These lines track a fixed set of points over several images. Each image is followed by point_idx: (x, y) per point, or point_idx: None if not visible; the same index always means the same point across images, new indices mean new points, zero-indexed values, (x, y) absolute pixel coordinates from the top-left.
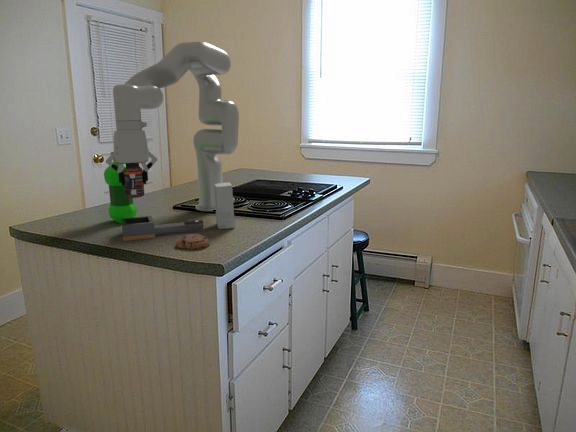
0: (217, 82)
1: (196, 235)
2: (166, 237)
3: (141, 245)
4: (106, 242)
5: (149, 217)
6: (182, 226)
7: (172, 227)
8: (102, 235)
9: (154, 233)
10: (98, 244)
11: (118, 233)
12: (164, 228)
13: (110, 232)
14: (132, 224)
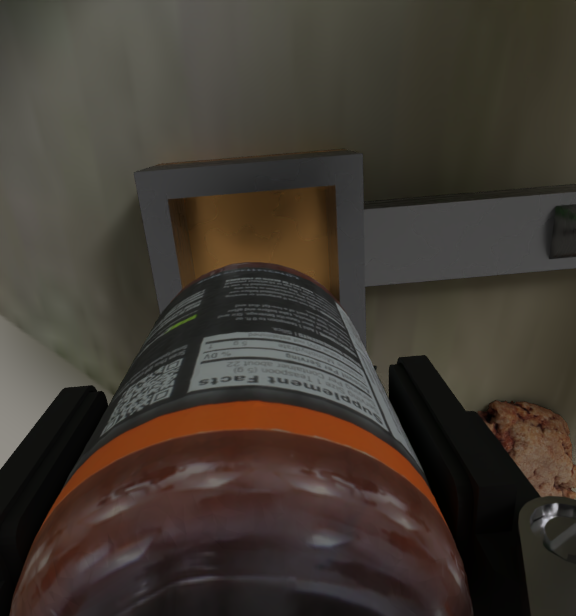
0: None
1: (544, 464)
2: (406, 327)
3: None
4: (101, 333)
5: (346, 210)
6: (525, 269)
7: (465, 274)
8: (41, 186)
9: None
10: (67, 356)
11: (134, 167)
12: (417, 279)
13: (76, 126)
14: None
